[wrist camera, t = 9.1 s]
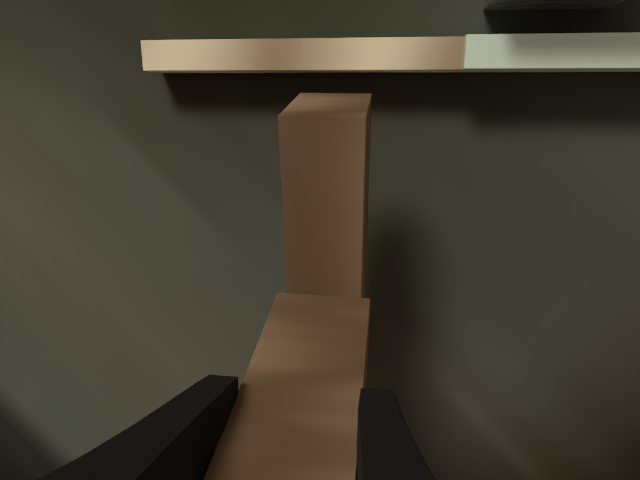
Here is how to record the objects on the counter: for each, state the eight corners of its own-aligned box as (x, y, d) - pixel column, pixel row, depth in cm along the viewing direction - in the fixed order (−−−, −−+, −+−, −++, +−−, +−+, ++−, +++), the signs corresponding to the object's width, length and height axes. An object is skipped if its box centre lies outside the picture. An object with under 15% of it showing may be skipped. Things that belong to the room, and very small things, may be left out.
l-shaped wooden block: (380, 93, 14) (359, 234, 6) (367, 415, 19) (347, 721, 11) (291, 92, 14) (151, 224, 6) (303, 408, 19) (238, 702, 11)
